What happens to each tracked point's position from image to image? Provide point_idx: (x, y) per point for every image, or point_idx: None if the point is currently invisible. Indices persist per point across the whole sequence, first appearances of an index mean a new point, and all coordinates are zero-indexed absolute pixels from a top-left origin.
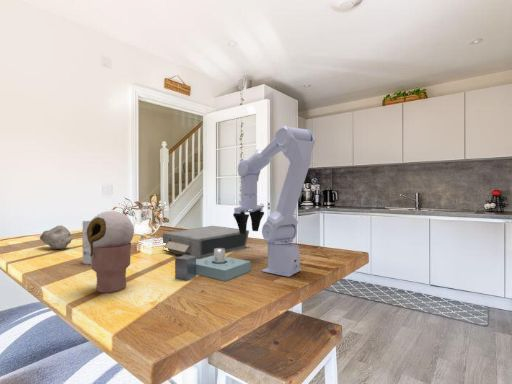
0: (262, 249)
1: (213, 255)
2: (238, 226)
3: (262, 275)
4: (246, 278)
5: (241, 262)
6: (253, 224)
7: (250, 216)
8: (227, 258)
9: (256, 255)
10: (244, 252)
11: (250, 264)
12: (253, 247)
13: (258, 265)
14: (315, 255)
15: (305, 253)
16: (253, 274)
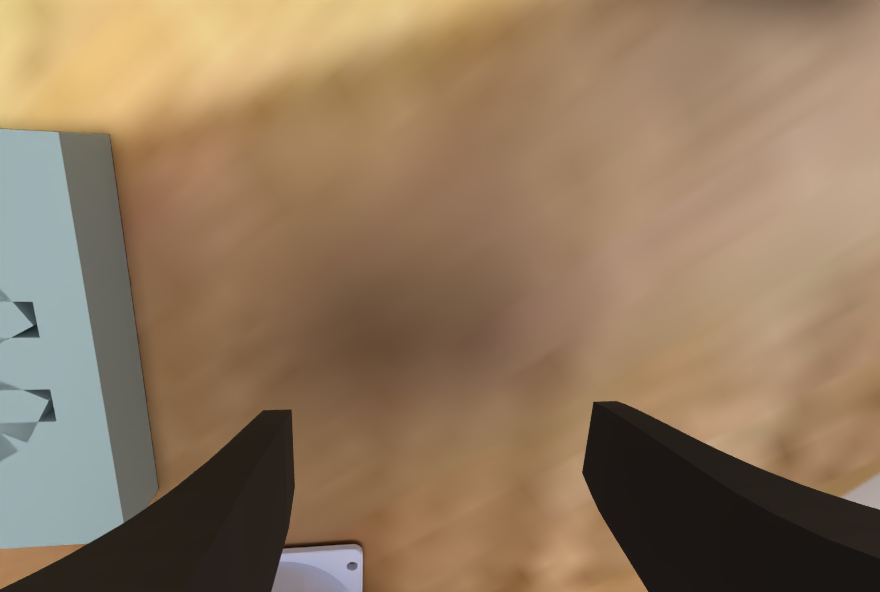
0: (804, 187)
1: (31, 133)
2: (200, 475)
3: None
4: (8, 558)
5: (43, 512)
6: (650, 477)
7: (793, 528)
8: (52, 342)
9: (575, 270)
10: (632, 106)
11: None
12: (864, 55)
13: (314, 450)
14: None
15: None
16: None
